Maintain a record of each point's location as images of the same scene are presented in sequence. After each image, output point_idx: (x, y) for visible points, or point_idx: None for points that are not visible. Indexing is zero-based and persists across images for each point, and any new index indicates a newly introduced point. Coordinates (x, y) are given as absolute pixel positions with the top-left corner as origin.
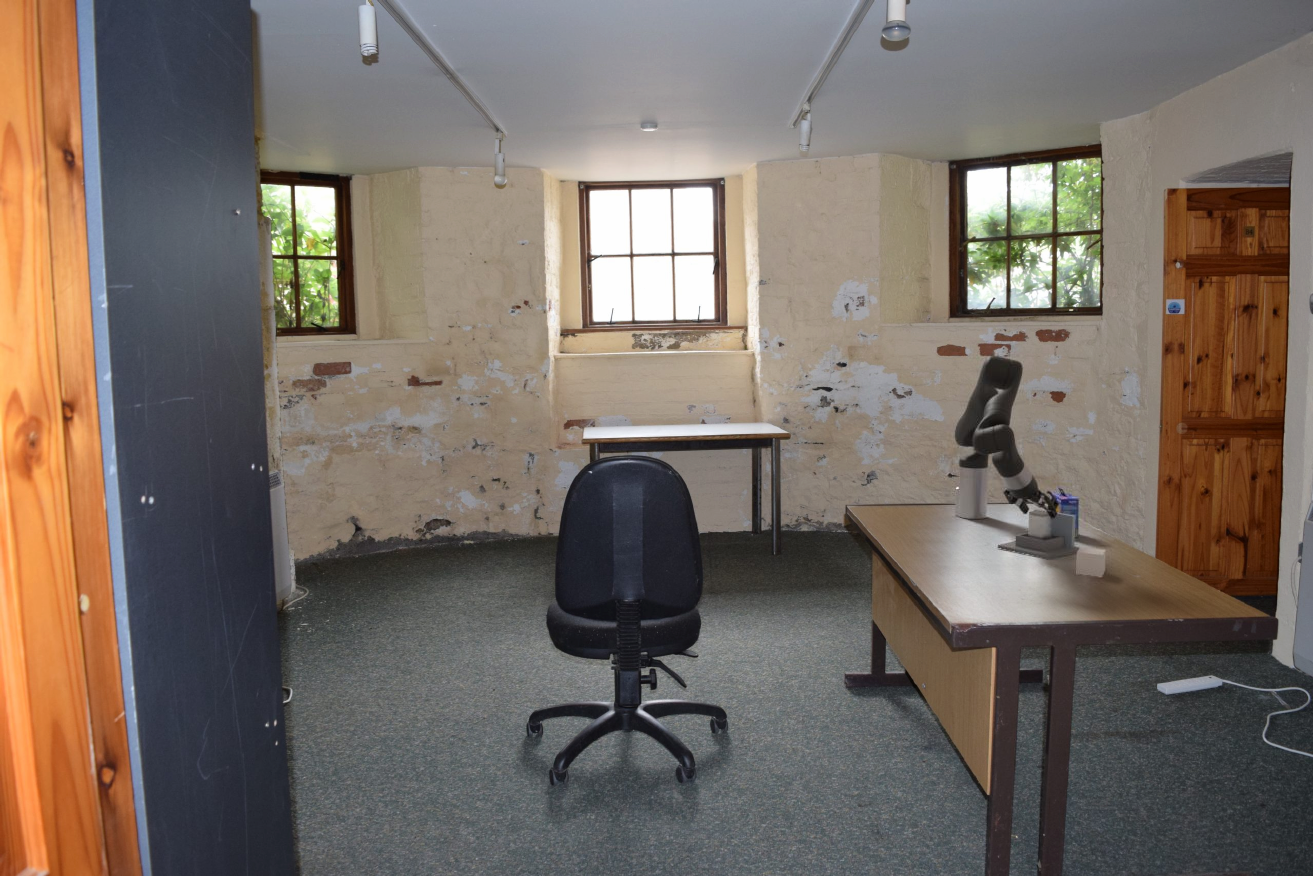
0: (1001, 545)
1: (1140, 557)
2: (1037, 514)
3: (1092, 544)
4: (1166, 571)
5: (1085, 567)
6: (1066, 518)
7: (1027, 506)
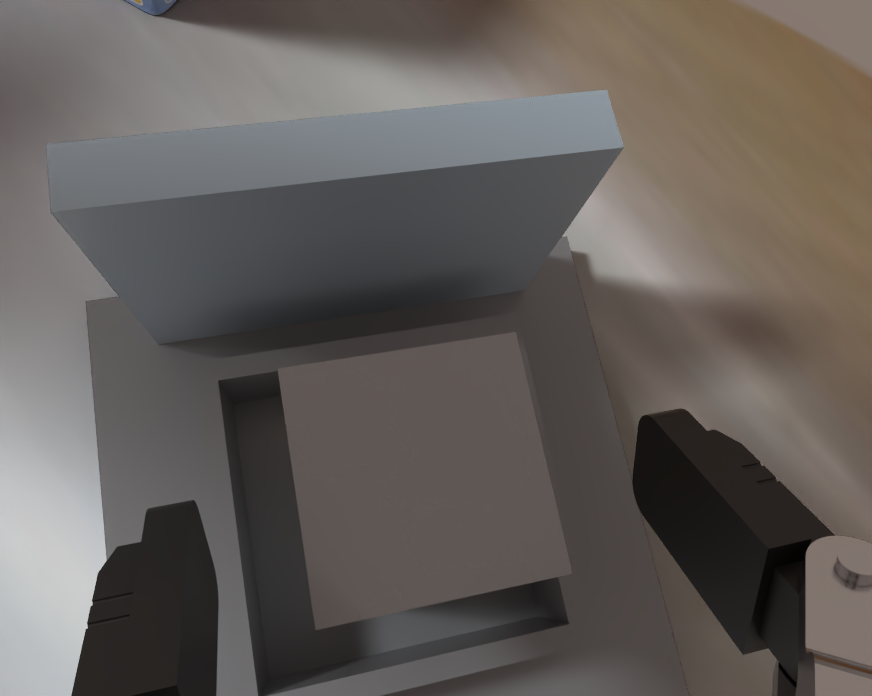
0: None
1: (822, 72)
2: (468, 594)
3: (435, 19)
4: None
5: None
6: (536, 178)
7: (191, 552)
